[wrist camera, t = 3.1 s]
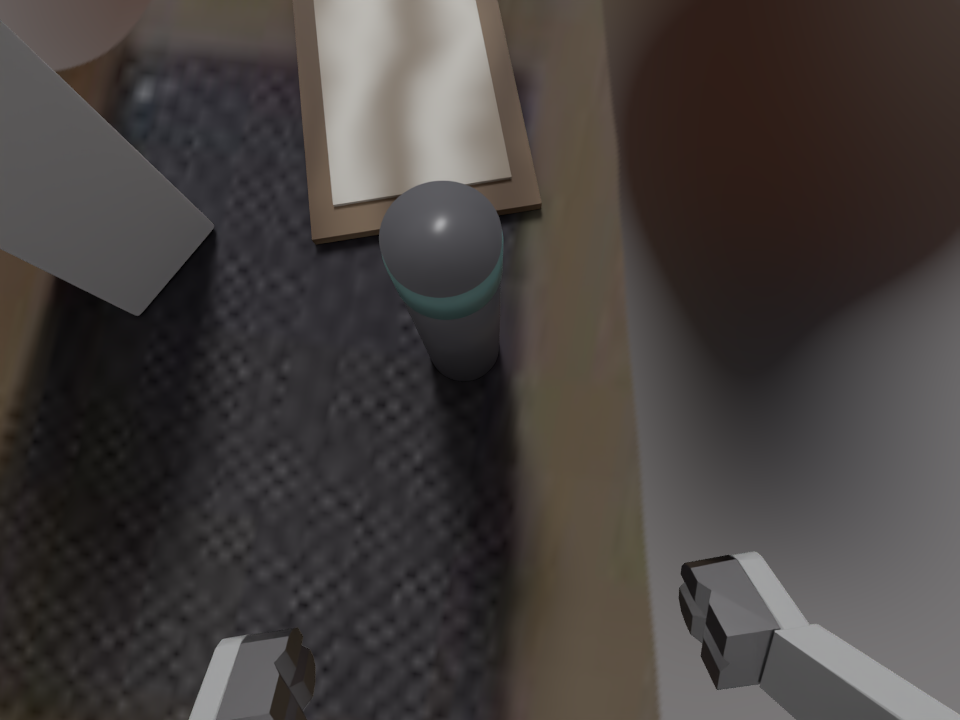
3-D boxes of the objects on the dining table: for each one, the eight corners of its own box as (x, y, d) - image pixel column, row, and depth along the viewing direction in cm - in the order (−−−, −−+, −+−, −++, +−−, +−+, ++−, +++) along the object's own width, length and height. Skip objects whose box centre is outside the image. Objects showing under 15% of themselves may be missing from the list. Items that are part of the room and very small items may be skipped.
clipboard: (315, 244, 31) (305, 231, 29) (291, -47, 37) (282, -71, 36) (540, 208, 31) (543, 193, 30) (479, -76, 37) (478, -100, 36)
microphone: (433, 387, 28) (384, 302, 16) (424, 319, 29) (371, 189, 17) (505, 375, 28) (513, 282, 16) (493, 308, 29) (492, 170, 17)
